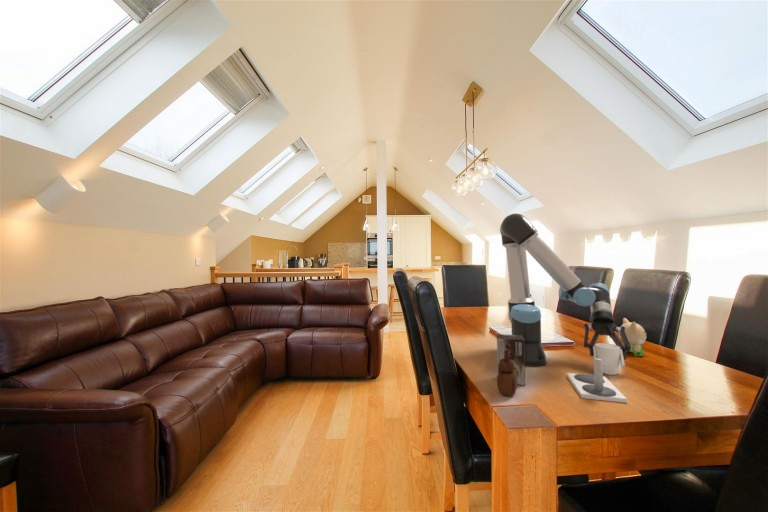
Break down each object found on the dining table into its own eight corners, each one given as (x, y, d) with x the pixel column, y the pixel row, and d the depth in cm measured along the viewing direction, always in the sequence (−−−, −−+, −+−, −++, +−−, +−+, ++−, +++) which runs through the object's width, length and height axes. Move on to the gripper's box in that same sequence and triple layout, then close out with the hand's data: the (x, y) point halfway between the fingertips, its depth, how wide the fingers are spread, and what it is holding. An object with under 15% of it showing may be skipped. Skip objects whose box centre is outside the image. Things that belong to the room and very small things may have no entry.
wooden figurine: (514, 400, 97) (513, 351, 97) (495, 396, 100) (494, 349, 100) (518, 392, 103) (517, 346, 103) (500, 388, 106) (499, 344, 106)
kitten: (655, 358, 135) (654, 323, 135) (628, 356, 138) (627, 322, 138) (638, 348, 149) (637, 317, 150) (613, 347, 152) (612, 316, 152)
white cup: (626, 375, 116) (625, 348, 116) (604, 375, 116) (604, 348, 116) (611, 368, 123) (610, 342, 124) (591, 368, 124) (590, 343, 124)
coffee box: (524, 379, 114) (523, 335, 114) (525, 386, 107) (524, 339, 108) (497, 376, 117) (496, 333, 117) (497, 383, 110) (496, 337, 111)
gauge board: (581, 397, 98) (580, 362, 98) (566, 376, 116) (566, 346, 116) (627, 402, 94) (626, 365, 94) (604, 379, 112) (603, 348, 112)
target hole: (578, 382, 107) (578, 382, 107) (571, 373, 115) (571, 372, 115) (608, 385, 104) (608, 384, 104) (599, 375, 112) (599, 375, 112)
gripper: (631, 322, 128) (642, 374, 114) (573, 318, 138) (576, 365, 124) (633, 311, 124) (645, 364, 109) (573, 308, 134) (577, 356, 119)
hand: (609, 365), depth 117 cm, fingers closed on white cup, 8 cm apart
